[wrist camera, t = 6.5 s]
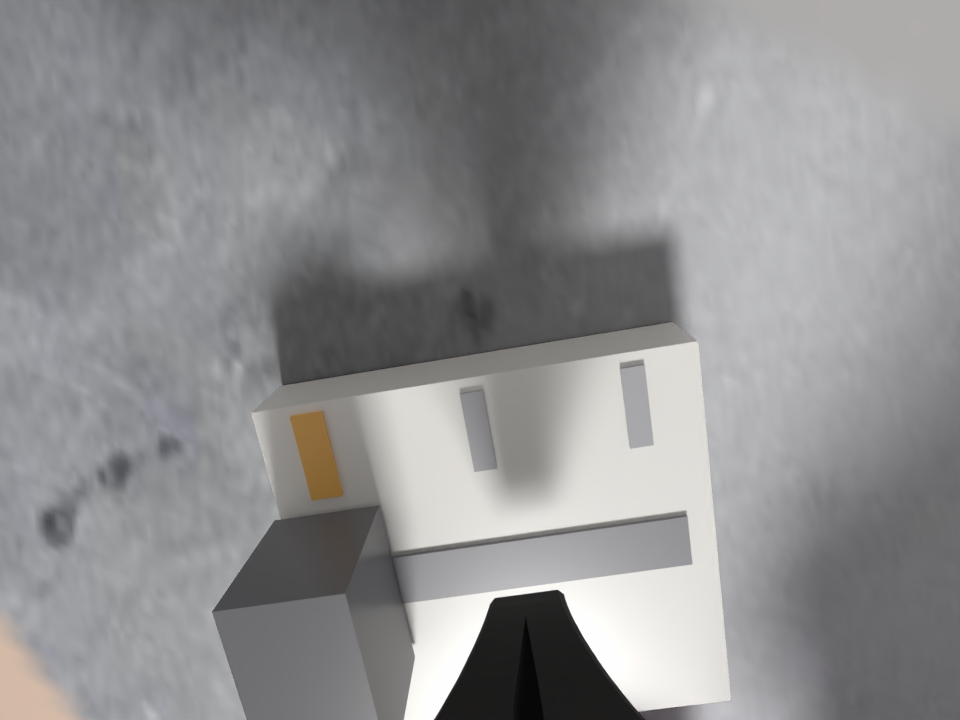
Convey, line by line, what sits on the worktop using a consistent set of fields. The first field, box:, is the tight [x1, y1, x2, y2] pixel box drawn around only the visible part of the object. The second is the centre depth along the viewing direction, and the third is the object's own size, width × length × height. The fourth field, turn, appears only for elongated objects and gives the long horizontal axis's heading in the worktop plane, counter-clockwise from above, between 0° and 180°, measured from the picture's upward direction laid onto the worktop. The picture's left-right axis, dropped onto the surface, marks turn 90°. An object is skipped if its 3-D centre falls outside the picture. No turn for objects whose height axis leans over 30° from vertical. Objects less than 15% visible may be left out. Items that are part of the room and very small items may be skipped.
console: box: [251, 322, 731, 720], centre depth 15 cm, size 9×10×2 cm
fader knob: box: [212, 505, 415, 720], centre depth 13 cm, size 4×2×3 cm, turn 10°
